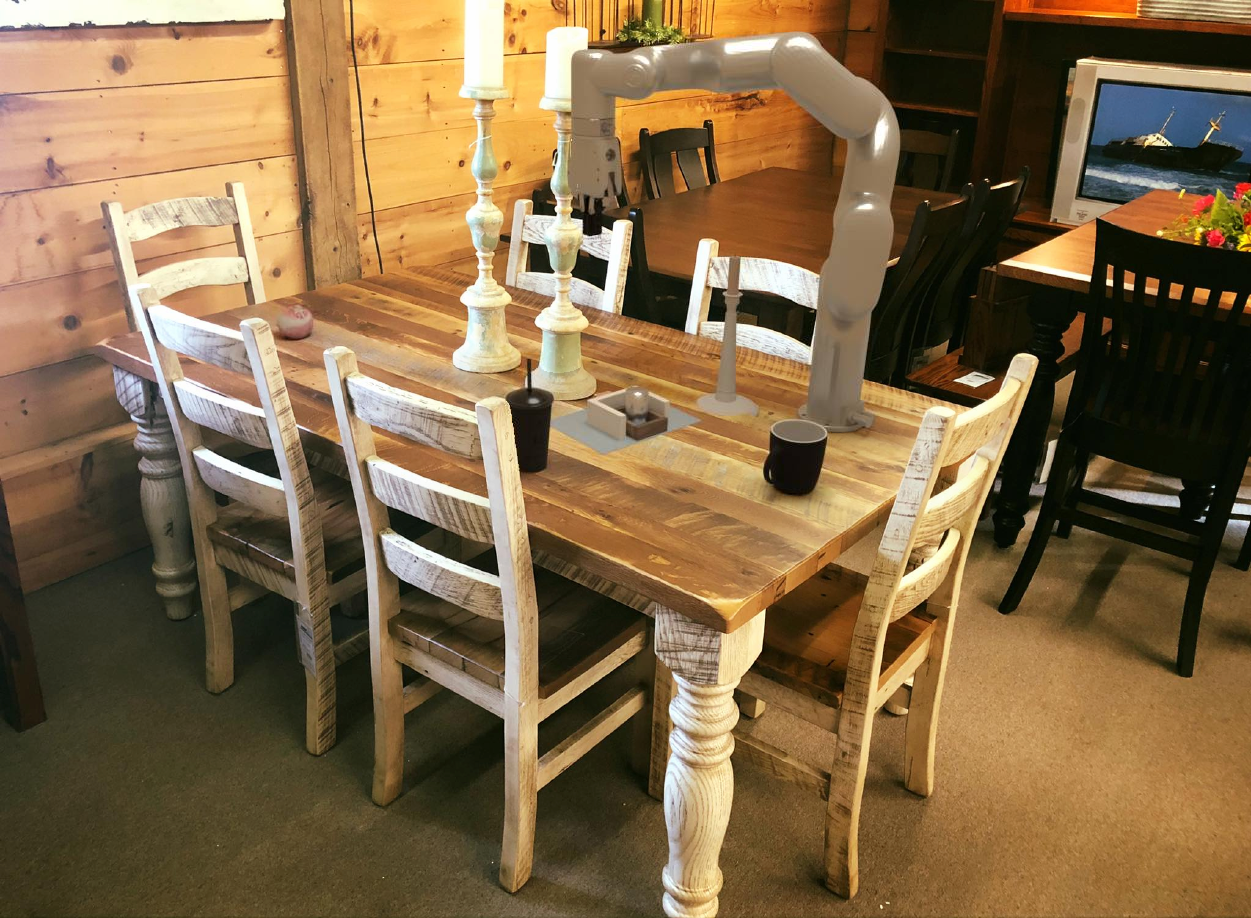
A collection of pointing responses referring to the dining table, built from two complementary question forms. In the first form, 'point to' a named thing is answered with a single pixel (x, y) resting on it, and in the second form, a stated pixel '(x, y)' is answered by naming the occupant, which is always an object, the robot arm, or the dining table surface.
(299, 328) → the apple
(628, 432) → the socket
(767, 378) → the dining table surface
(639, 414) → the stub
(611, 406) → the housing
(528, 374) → the drinking cup
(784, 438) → the mug
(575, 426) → the board
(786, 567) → the dining table surface
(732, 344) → the candlestick
